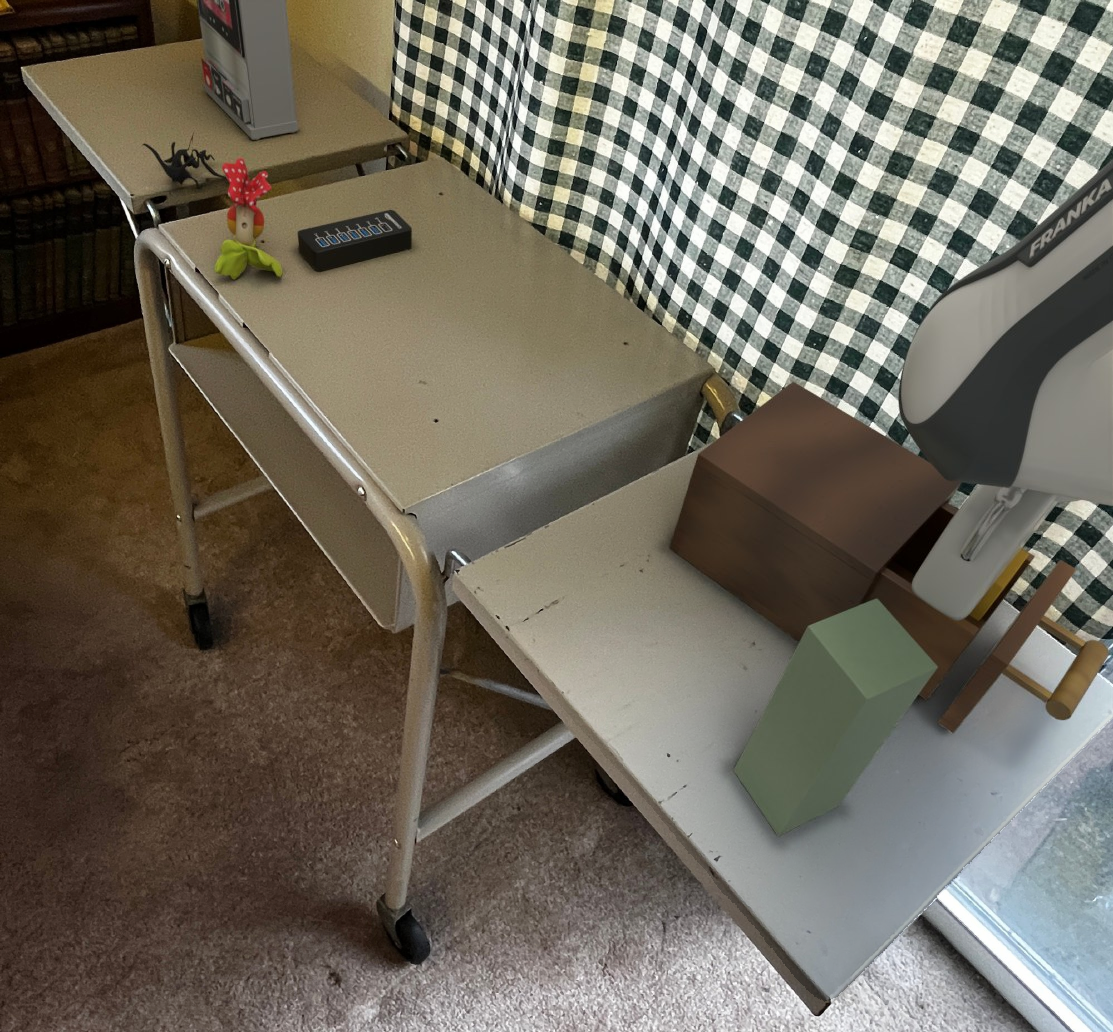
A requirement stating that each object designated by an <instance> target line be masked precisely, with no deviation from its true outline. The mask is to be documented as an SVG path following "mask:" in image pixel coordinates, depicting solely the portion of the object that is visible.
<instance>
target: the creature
mask: <svg viewBox="0 0 1113 1032" xmlns="http://www.w3.org/2000/svg"><path fill="white" fill-rule="evenodd" d="M194 134H195V131H193V132H192V135H191V138H190V141H189V143H188V148H181V149H178V150H177V151H176V152H175V147H176V141H173V142H172V143H171V145H170V149H171V157H169V158H167V159H164V160H163V159H162V158H161V156H160V154H159V153H158V151H157V150H155V149H154V148H153V147H152V146H151V145H149V144H147V143H142V145H141V146H144V147H146V148H147V149H149V150H150V152H152V153H153V155H154V157H155V158H156V160H157V162H158V163H159V164H160V166H161V167H162V169H163V170H164V172H165V174H166V175H167V176H168V177H169V178H170V179H171V181H172V182H177V183H179V184H180V185H181V186H182V185H183V184H184V182H185V181H186V180H188V179H191V180H193V181H194V182H195V185H196V187H197V188H198V189H201V188H202V187H203V186H204V185H206V182H204V183H201V184H200V183H199V181H198V180H197V179H196V178H194V176H192V175H191V174H190V172H189V171H188V170H187V168H189V167H192V168H193V169H195V170H197V169H199V167H200V162H201V163H202V165H203V167H205V169H206V171H208V172H209V174H211V175H212V176H214V177H206V178H204V179H205V180H206V181H209V180H215V179H216V180H217V179H219V180H220V179H221V180H222V179H223V180H228V179H227V178H226V176H224V175H222V174H220V173H217V172H216V171H215V170H214V169H213V168H212V167H211V166H210V165H209V164H208V163H207V162H206V161H209V160H210V159H212V160H213V161H215V158H214V157H213V155H212V154H208V155H207V150H206V149H204V150H200V151H199V150H198V149H196V148H192V150H191V153H190V154H189V153H188V151H189V150H190V148H191V144H192V143H193V142H194V141H193V139H194ZM194 152H195V155H196V156H194V154H193V153H194ZM182 157H183V162H182ZM167 164H170V165H167Z"/></svg>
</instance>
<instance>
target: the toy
mask: <svg viewBox="0 0 1113 1032" xmlns="http://www.w3.org/2000/svg"><path fill="white" fill-rule="evenodd" d="M1023 549H1024V548H1022V549H1021V550H1020V551H1019V552H1018V553H1017V555H1016V556H1015V557H1014V558H1013V560H1012V561H1011V562H1010V564H1009V565H1008V566H1007V567H1006V569H1005V570H1004V571H1003V572H1002V574H1001V575H1000V576H999V577H998V579H997V580H996V581H995V583H994V584H993V585H992V586H991V588H990V589H989V590H988V591H987V593H986V594H985V595H984V596H983V598H982V599H981V600H980V602H979V603H978V604H977V605H976V607H975V608H974V609H973V610H972V612H971V613H970V614H969V615H970V616H972V617H973V618H975V619H977V620H978V621H979V620H980V619H981V618H982V617H983V615H984V614H985V613H986V611H987V610H988V609H989V608H990V606H991V605H992V604H993V602H994V601H995V600H996V599H997V597H998V596H999V595H1000V593H1001V592H1002V591H1003V590H1004V588H1005V587H1006V586H1007V584H1008V583H1009V581H1010V580H1011V579H1012V577H1013V576H1014V575H1015V573H1016V572H1017V571H1018V569H1019V568H1020V566H1021V565H1022V564H1023V562H1024V561H1025V560H1026V558H1027V557H1028V555H1029V553H1030V552H1029V551H1027V550H1026V549H1024V550H1023ZM1025 550H1026V551H1027V552H1026V551H1025ZM1028 552H1029V553H1028Z"/></svg>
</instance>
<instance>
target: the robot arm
mask: <svg viewBox="0 0 1113 1032" xmlns="http://www.w3.org/2000/svg"><path fill="white" fill-rule="evenodd" d="M897 399H898V411H899V415H900V418H901V420H902V423H903V424H904V426H905V429H906V430H907V432H908V434H909V435H910V437H911V438H912V440H913V441H914V443H915V444H916V446H917V448H918V449H919V451H920V452H921V453H922V455H924V457H925V458H926V460H927V461H928V462H930V463H931V464H932V465H933V466H934V467H935V468H936V470H937V471H938V472H939V473H940V474H941V475H942V476H943V477H944V478H945V479H946V480H948V481H956V482H962V483H964V484H973V485H978V486H977V487H976V488H975V489H974V491H973V492H972V493H971V494H970V495H969V496H968V497H967V498H966V500H964V502H963V503H962V504H961V506H960V507H959V508H958V511H957V512H956V514H955V515H954V517H953V518H952V519H951V521H950V522H949V524H948V525H947V527H946V528H945V530H944V531H943V533H942V534H941V536H940V537H939V539H938V540H937V542H936V543H935V545H934V547H933V548H932V550H931V551H930V553H929V554H928V556H927V557H926V559H925V561H924V562H923V564H922V565H921V567H920V568H919V570H918V572H917V573H916V575H915V577H914V579H913V581H912V591H913V592H914V594H915V595H916V596H918V597H919V598H920V599H922V600H923V601H925V602H926V603H927V604H929V605H930V606H932V607H933V608H935V609H936V610H938V611H939V612H941V613H943V614H944V615H946V616H948V617H949V618H951V619H953V620H957V621H958V620H962V619H964V618H965V617H967V616H968V615H969V614H970V613H971V612H972V610H973V609H974V608H975V607H976V605H977V604H978V603H979V602H980V600H981V599H982V598H983V596H984V595H985V594H986V593H987V591H988V590H989V589H990V588H991V586H992V585H993V584H994V583H995V581H996V580H997V579H998V577H999V576H1000V575H1001V574H1002V572H1003V571H1004V570H1005V569H1006V567H1007V566H1008V565H1009V564H1010V562H1011V561H1012V560H1013V558H1014V557H1015V556H1016V555H1017V553H1018V552H1019V551H1020V550H1021V548H1022V549H1023V547H1024V546H1025V545H1026V544H1027V542H1028V541H1029V540H1030V538H1031V537H1032V536H1033V535H1034V533H1035V532H1036V531H1037V530H1038V528H1039V527H1040V526H1041V524H1042V523H1043V522H1044V521H1045V520H1046V518H1047V517H1048V516H1049V514H1050V513H1051V512H1052V511H1053V509H1054V508H1055V507H1056V506H1057V504H1058V503H1059V502H1060V503H1073V502H1078V501H1084V502H1085V501H1086V502H1090V503H1091V502H1092V503H1097V504H1099V505H1105V506H1109V507H1113V158H1112V159H1110V160H1109V162H1108V163H1107V164H1105V166H1104V167H1102V168H1100V170H1099V171H1098V172H1096V173H1095V174H1094V175H1093V176H1092V177H1091V178H1090V179H1089V180H1087V182H1086V183H1084V184H1083V185H1082V186H1081V187H1079V188H1078V190H1076V191H1075V192H1074V193H1073V194H1072V195H1070V197H1068V199H1066V200H1065V201H1063V203H1062V204H1060V205H1059V207H1057V208H1056V209H1055V210H1054V211H1053V212H1052V213H1050V215H1048V216H1047V217H1046V218H1045V219H1044V220H1043V221H1041V222H1040V223H1039V224H1038V225H1037V226H1036V227H1034V229H1032V230H1031V231H1030V232H1029V233H1028V234H1026V236H1024V237H1023V238H1022V239H1021V240H1020V241H1019V242H1017V243H1016V244H1015V245H1013V246H1012V247H1010V248H1009V249H1007V250H1006V251H1004V252H1002V253H1001V254H999V255H997V256H996V257H994V258H993V259H990V260H988V261H987V262H985V263H983V264H982V265H980V266H979V267H976V268H975V269H974V270H972V271H970V272H969V273H968V274H966V275H965V276H963V277H961V278H960V279H959V280H958V281H956V282H955V283H953V284H952V285H951V286H950V287H949V288H948V289H946V290H945V291H944V292H943V293H941V295H939V297H937V299H936V300H935V301H934V302H933V304H931V306H930V307H929V309H928V310H927V311H926V313H925V314H924V316H923V318H922V319H921V321H920V323H919V324H918V327H917V329H916V331H915V333H914V335H913V337H912V339H911V342H910V344H909V347H908V349H907V352H906V355H905V358H904V361H903V366H902V370H901V374H900V378H899V386H898V397H897Z"/></svg>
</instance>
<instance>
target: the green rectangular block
mask: <svg viewBox="0 0 1113 1032" xmlns="http://www.w3.org/2000/svg"><path fill="white" fill-rule="evenodd" d="M937 668H938V667H937V665H936V664H935V663H934V662H933V661H932V660H931V658H930V657H929V656H928V655H927V654H926V653H925V652H924V651H923V649H922V648H921V647H920V646H919V645H918V644H917V643H916V642H915V640H914V639H913V638H912V637H911V636H910V635H909V634H908V633H907V631H906V630H905V629H904V628H903V627H902V626H901V625H900V624H899V622H898V621H897V620H896V619H895V618H894V617H893V616H892V614H891V613H890V612H889V611H888V610H887V609H886V608H885V607H884V605H883V604H882V603H881V602H880V601H879V600H878V599H874V600H871V601H869V602H866V603H864V604H861V605H859V606H856V607H854V608H851V609H849V610H846V611H844V612H841V613H839V614H836V615H834V616H831V617H829V618H826V619H824V620H821V621H819V622H816V623H814V624H811V625H809V626H808V627H807V629H806V631H805V633H804V635H803V636H802V638H801V640H800V642H799V641H798V644H797V646H796V648H795V650H794V652H793V654H792V656H791V658H790V659H789V662H788V664H787V665H786V668H785V669H784V672H782V673H783V674H782V676H781V678H780V679H779V681H778V684H777V685H776V687H775V689H774V691H773V693H772V694H771V697H770V698H769V700H768V703H767V704H766V706H765V708H764V710H763V713H762V714H761V716H760V718H759V720H758V722H757V724H756V725H755V728H754V730H753V732H752V734H751V736H750V738H749V740H748V742H747V743H746V746H745V748H744V749H743V751H742V754H741V755H740V756H739V759H738V761H737V763H736V765H735V767H734V769H733V772H734V773H735V775H736V777H737V778H738V779H739V781H740V782H741V784H742V785H743V786H744V788H745V790H746V792H747V793H748V794H749V795H750V797H751V798H752V800H753V801H754V804H755V805H756V807H757V808H758V809H759V811H760V812H761V813H762V815H763V816H764V818H765V819H766V821H767V822H768V824H769V825H770V827H771V828H772V830H773V831H774V833H775V834H776V836H777V837H779V836H782V835H784V834H786V833H788V832H790V831H792V830H794V829H796V828H798V827H800V826H801V825H804V824H806V823H808V822H810V821H811V820H814V819H815V818H817V817H820V816H822V815H824V814H825V813H828V812H829V811H832V810H834V809H836V808H837V807H839V806H840V805H841V803H842V801H844V799H845V798H846V796H847V795H848V793H849V792H850V791H851V789H852V788H853V786H854V785H855V784H856V782H857V781H858V780H859V778H860V777H861V775H862V774H863V773H864V771H865V769H866V768H867V767H868V766H869V764H870V763H871V761H872V760H873V758H875V756H876V754H877V753H878V752H879V750H880V749H881V748H882V747H883V744H884V743H885V742H886V740H887V738H889V737H890V735H891V733H892V732H893V731H894V729H895V728H896V727H897V725H898V724H899V722H900V721H901V719H902V718H903V717H904V715H905V714H906V713H907V712H908V710H909V708H910V707H911V705H912V704H913V703H914V701H915V700H916V699H917V697H918V696H919V695H918V694H919V693H920V691H921V690H922V689H923V687H924V686H925V684H926V683H927V682H928V680H929V679H930V677H931V676H932V675H933V673H934V672H935V671H936V669H937Z"/></svg>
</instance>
